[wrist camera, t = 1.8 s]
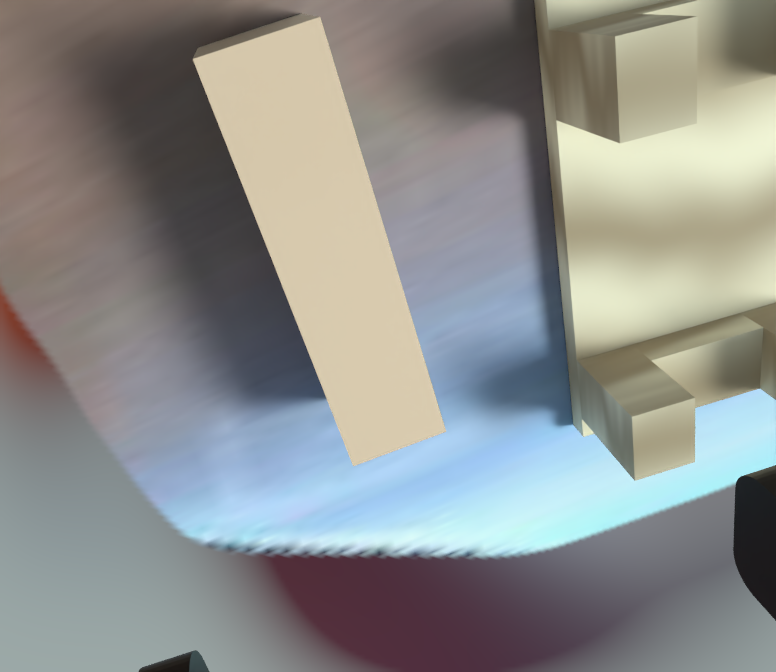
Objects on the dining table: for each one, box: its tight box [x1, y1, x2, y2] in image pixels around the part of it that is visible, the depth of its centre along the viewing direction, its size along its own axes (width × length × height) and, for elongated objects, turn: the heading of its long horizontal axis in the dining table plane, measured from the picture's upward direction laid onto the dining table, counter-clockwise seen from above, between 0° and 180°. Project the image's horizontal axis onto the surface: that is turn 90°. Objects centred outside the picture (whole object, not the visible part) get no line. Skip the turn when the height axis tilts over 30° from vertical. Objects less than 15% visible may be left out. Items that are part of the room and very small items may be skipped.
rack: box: [534, 0, 776, 480], centre depth 26 cm, size 18×10×6 cm, turn 11°
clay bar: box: [193, 13, 446, 466], centre depth 24 cm, size 14×4×5 cm, turn 16°
